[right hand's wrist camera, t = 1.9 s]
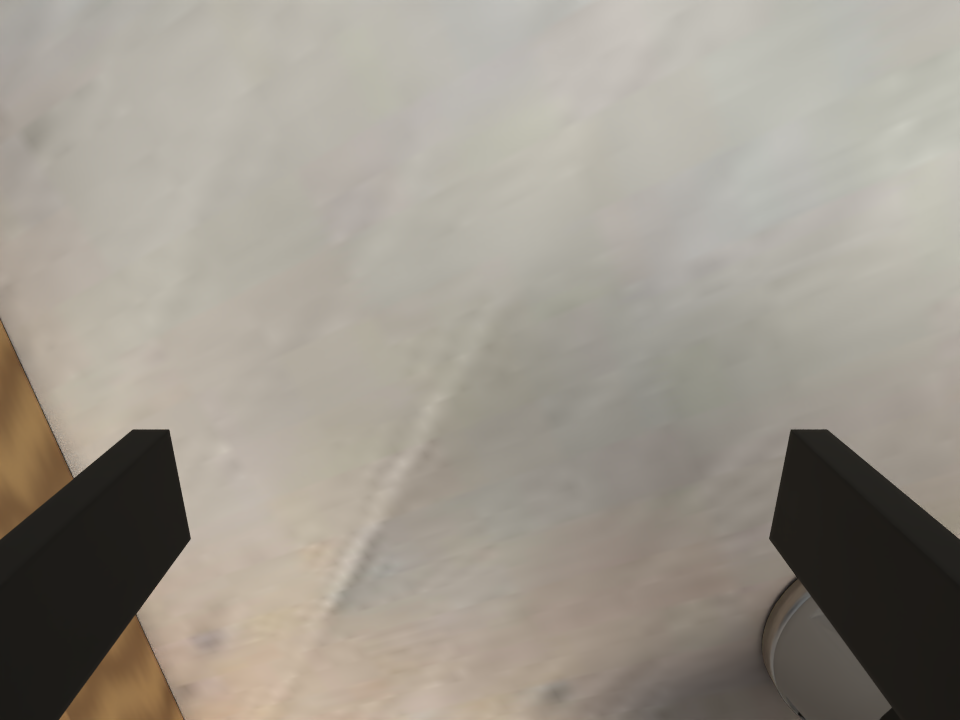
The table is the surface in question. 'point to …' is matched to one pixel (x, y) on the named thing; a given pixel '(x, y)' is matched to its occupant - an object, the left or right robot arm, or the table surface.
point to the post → (24, 488)
